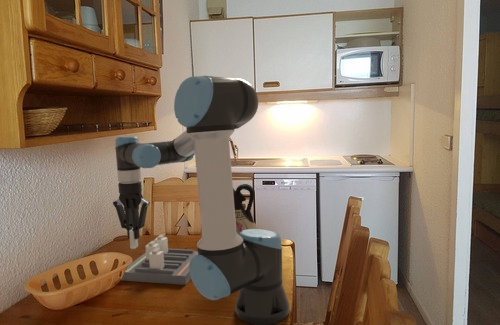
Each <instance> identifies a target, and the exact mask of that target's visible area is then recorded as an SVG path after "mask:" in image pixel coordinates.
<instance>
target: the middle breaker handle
mask: <svg viewBox="0 0 500 325" xmlns="http://www.w3.org/2000/svg"><path fill="white" fill-rule="evenodd" d="M155 248H160V247H159V244H156V241H154V240H151V241H150V242H148V244H146V245H145V252H146V260H149V253H151V252H152V251H153V250H154V249H155Z"/></svg>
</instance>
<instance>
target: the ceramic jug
mask: <svg viewBox="0 0 500 325" xmlns="http://www.w3.org/2000/svg"><path fill="white" fill-rule="evenodd" d="M242 190H244V191H248V193H249V199H248V203H247V207H246V208H245V206H244V204H243V202H246V201H247V198H246V197H245V195H244V194H242V192H241V191H242ZM233 195H234V207H235V220H236V232H237V234H238V235H239V234H240V232H241V231H243V230H247V229H259V228H258V226H257V224H256V223H255V221H254V217H253V214H252V212H251V211H252V207H253V203H254V200H255V190H254V187H253V186H251V185H250V184H249V183H242V184H240V185H238V186H237V187H236V189H235V188H234V187H233Z"/></svg>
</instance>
